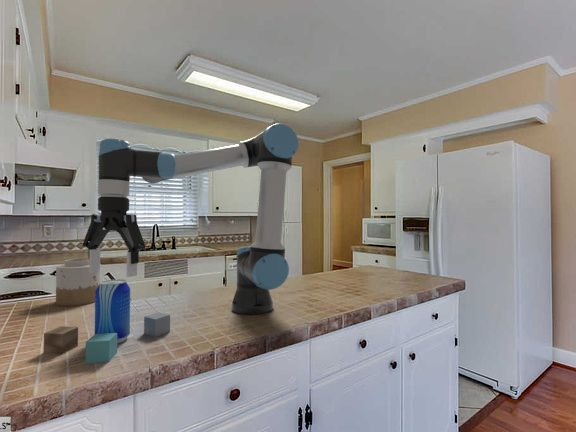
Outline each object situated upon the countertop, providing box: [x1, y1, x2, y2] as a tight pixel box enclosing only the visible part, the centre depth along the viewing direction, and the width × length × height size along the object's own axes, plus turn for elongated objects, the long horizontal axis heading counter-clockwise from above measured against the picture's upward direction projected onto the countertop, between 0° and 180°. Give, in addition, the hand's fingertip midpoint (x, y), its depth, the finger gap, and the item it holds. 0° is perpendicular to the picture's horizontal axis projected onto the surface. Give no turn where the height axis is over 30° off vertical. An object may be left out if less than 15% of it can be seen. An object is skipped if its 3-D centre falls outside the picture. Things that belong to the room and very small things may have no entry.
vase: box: [55, 257, 103, 307], centre depth 127 cm, size 15×15×17 cm
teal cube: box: [85, 333, 118, 364], centre depth 75 cm, size 5×5×5 cm
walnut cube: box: [43, 325, 79, 355], centre depth 80 cm, size 5×5×5 cm
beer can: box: [94, 278, 131, 345], centre depth 86 cm, size 8×8×16 cm
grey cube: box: [143, 311, 171, 338], centre depth 92 cm, size 5×5×5 cm
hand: (112, 274), depth 86 cm, fingers open, 13 cm apart
